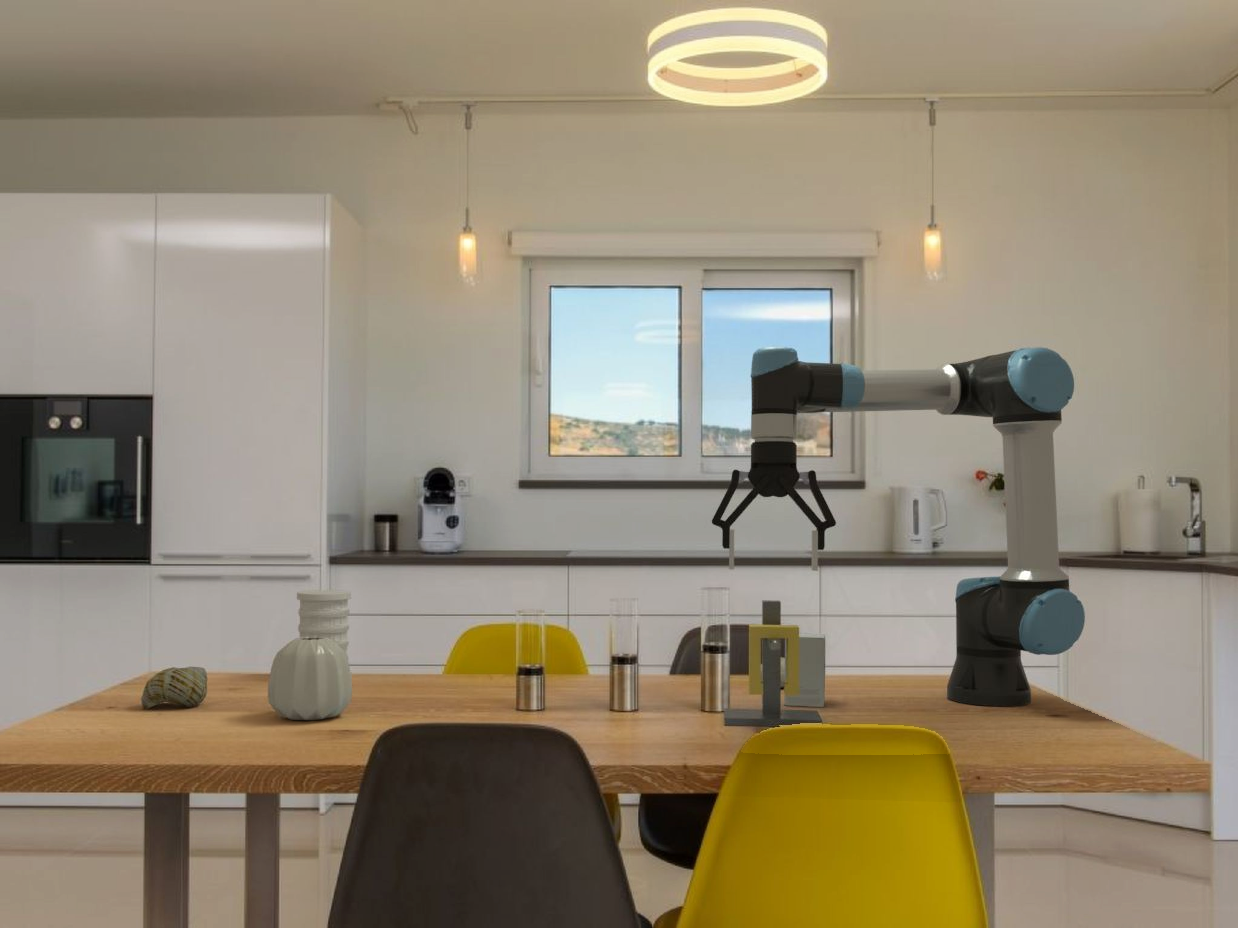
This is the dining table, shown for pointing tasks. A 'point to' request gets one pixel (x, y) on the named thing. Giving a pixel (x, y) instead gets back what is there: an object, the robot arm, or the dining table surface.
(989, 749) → the dining table surface
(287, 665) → the vase
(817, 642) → the supplement box
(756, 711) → the stand
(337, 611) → the decorative container
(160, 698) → the seashell
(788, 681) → the c link
